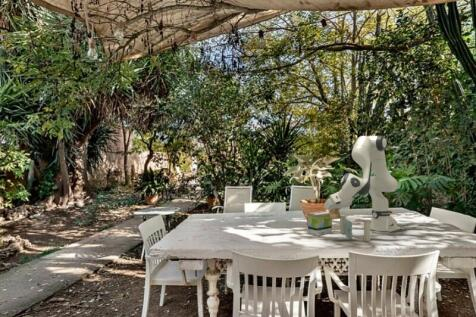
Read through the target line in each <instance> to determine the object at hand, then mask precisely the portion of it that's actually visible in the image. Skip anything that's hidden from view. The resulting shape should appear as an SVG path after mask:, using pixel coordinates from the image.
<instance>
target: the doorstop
mask: <svg viewBox="0 0 476 317" xmlns="http://www.w3.org/2000/svg"><path fill="white" fill-rule="evenodd" d="M331 210H332V211H331V212H329V211H328V212H329V214H330V219H331V220H332V221H333V220H340V218H341V217H340V215H341V213H340V210H339V208H336V209H331Z"/></svg>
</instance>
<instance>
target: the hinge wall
mask: <svg viewBox="0 0 476 317" xmlns="http://www.w3.org/2000/svg"><path fill="white" fill-rule="evenodd" d="M340 217H341V218H340V219H339V235H346V234H345V218H347V215H344V214H340Z"/></svg>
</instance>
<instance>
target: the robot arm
mask: <svg viewBox="0 0 476 317" xmlns="http://www.w3.org/2000/svg"><path fill="white" fill-rule="evenodd" d="M387 144H388V142H387V139H386V137H385V136H383V135H360V136H359V137H357V138H356V139H355V141H354V145H353V148H352V150H351V158H352V160H353V161H354V162H356V164H358V166H359V167H360V168H361V170H362V172H363V173H362V178H361V177H358V176H357V175H355V174H353V173H351V172H347V173H344V175H343V176H342V177H341V179H340V182H339V183H340V186H341V189H340V190H339V191H338V192H336V193H335V192H334V193H332V194H330V195H329V198H327V200H326V201H325V202H324V204H323V207H324V208H325V210H327V212H331V211H332V210H331V209H336V208H339V211H340V210H341V209H345V208H349V207H350V206H351V205H352V203H353V201H354V199H355V197H354V196H355V194H357V195H359V196H365V195H368V193H369V195H370V197H371V205H372V207H371V208H372V210H371V220H370V221H371V222H370V230H372V231H377V232H390V233H391V232H394V231H398V230H401V227H400V226H398V222H397V220H396V219H395V218H393V217H392V216H391V215H392V214H393V210H389V199H388V198H387V197H386V196H384V195H383V193H393V192H396V191H397V189H398V187H399V183H398V181H397V179H396V178H394V177H393V176H392V175H391V173H390V172H389V170H388V167H387V161H386V160H387V159H386V154H385V149H386V148H387ZM372 172H373V173H374V174H375V176H374V175H373V176H372ZM382 192H383V193H382Z"/></svg>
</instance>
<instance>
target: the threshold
mask: <svg viewBox="0 0 476 317" xmlns="http://www.w3.org/2000/svg"><path fill="white" fill-rule="evenodd" d="M352 238H356V239H359V240H364V237H361V236H357V235H353V234H352Z"/></svg>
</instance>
